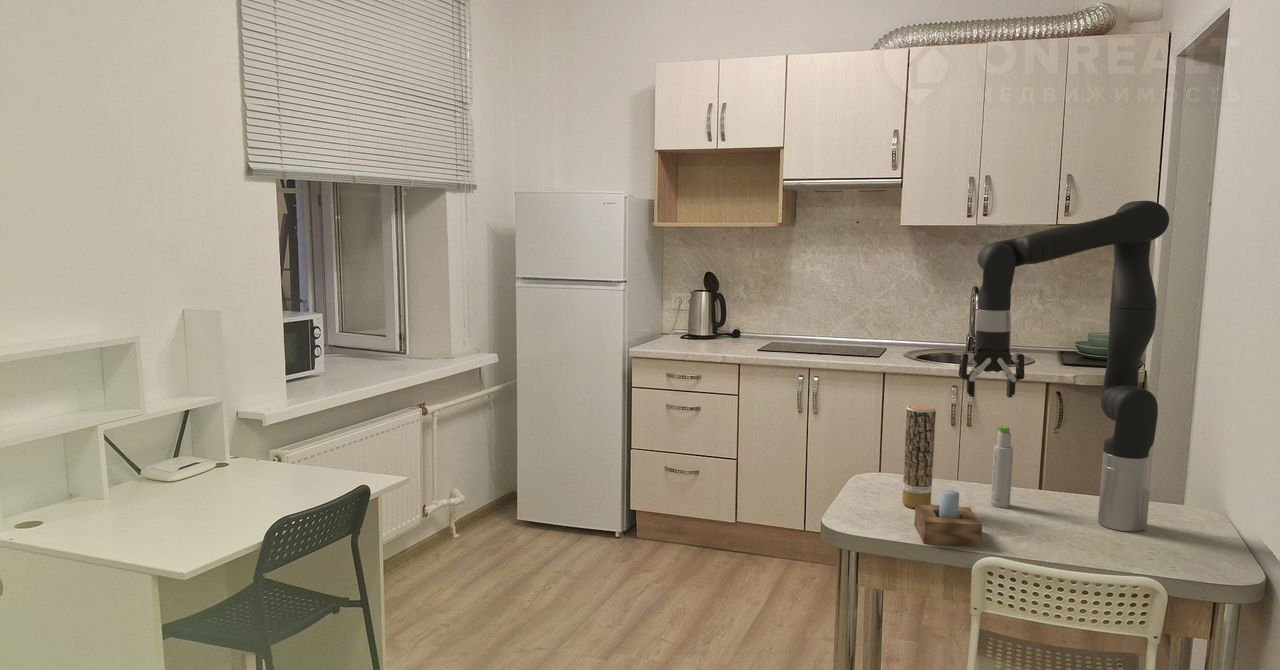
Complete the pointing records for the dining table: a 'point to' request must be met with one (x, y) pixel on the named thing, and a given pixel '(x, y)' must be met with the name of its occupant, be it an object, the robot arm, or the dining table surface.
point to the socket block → (947, 527)
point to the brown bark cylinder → (918, 455)
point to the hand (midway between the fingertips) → (990, 396)
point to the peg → (949, 504)
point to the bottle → (1002, 469)
